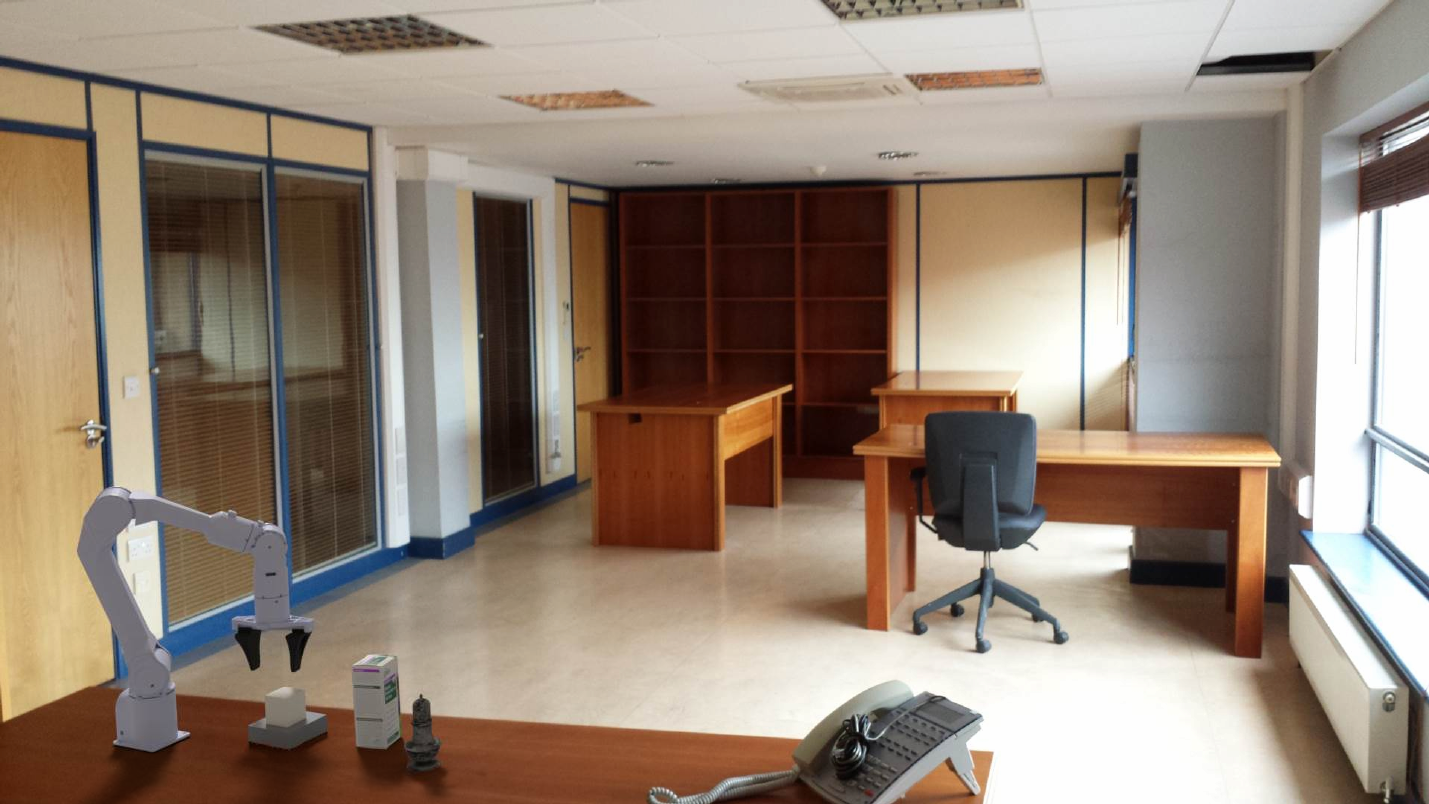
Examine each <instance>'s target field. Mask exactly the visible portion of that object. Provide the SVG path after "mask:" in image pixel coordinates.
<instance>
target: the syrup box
mask: <svg viewBox="0 0 1429 804" xmlns="http://www.w3.org/2000/svg"><path fill="white" fill-rule="evenodd" d="M398 660H399V659H398V656H397V655H392V654H384V653H382V654H379V653H377V654H376V653H375V654H367V655H366V656H365V657H364V658H362V659H360V660H358V661H357V662H356V663H354V664H352V665H351V666H350V667H351V684H352V699H353V715H354V728H355V729H354V731H355V746H356V747H358V748H365V749H374V750H375V749H379V750H388V748H389V747H390V746H391V745H393V744H394V743H395V742H397V740H399V739H400V738H401V737H402V736H403V732H402V731H403V730H402V715H401V714H402V713H401V711H402V710H401V698H400V697H401V696H400V682H399V681H400V680H399V679H400V677H399V663H398Z"/></svg>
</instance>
